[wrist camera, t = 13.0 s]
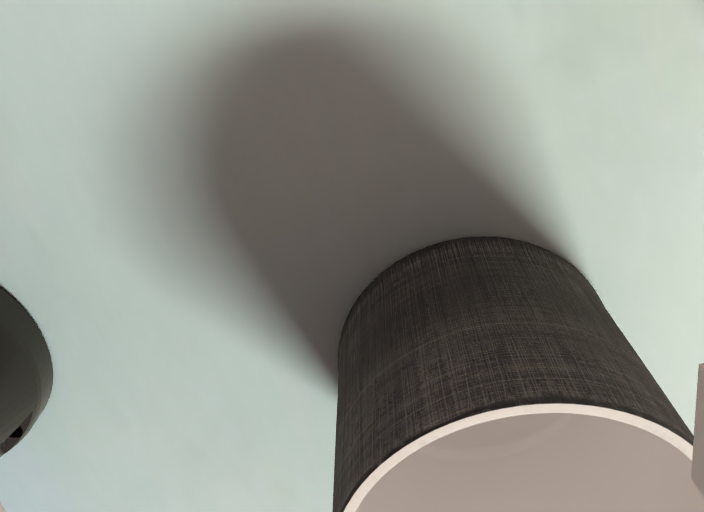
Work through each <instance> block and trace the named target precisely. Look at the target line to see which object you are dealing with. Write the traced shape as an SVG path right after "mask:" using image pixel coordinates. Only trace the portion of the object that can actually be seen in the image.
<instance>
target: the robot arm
mask: <svg viewBox="0 0 704 512" xmlns="http://www.w3.org/2000/svg"><path fill="white" fill-rule="evenodd" d="M52 384H53V367H52V361H51V356H50V353H49V350H48V347H47V344H46V342H45V340H44V338H43V336H42V334H41V332H40V330H39V329H38V327H37V325H36V324H35V322H34V321H33V320H32V318H31V317H30V316H29V314H28V313H27V312H26V311H25V310H24V309H23V308H22V307H21V306H20V305H19V303H18V302H16V301H15V300H14V299H13V298H12V297H11V296H10V295H9V294H7V293H6V292H5V291H4V290H2V289H1V288H0V457H1V456H2V455H3V454H5V453H6V452H8V451H9V450H10V449H12V448H13V447H14V446H15V445H17V444H18V443H19V442H20V441H21V440H22V439H23V438H24V437H25V436H26V434H27V433H28V432H29V431H30V429H31V428H32V426H33V425H34V423H35V422H36V420H37V419H38V417H39V415H40V414H41V412H42V411H43V409H44V408H45V406H46V404H47V402H48V399H49V397H50V394H51V390H52ZM691 479H692V480H693V482H694V483H695V485H696V486H697V488H698V489H699V491H700V492H701V494H702V495H703V497H704V363H703V364H699V369H698V384H697V398H696V412H695V427H694V441H693V456H692V470H691ZM0 512H6V511H5V510H4V508H3V506H2V504H1V503H0Z"/></svg>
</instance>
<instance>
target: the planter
mask: <svg viewBox="0 0 704 512" xmlns="http://www.w3.org/2000/svg"><path fill="white" fill-rule="evenodd" d="M338 373H339V380H338V402H337V422H336V445H335V468H334V492H333V512H704V497H703V495H702V494H701V492H700V491H699V489H698V488H697V486H696V485H695V483H694V482H693V480H692V479H691V470H692V456H693V441H694V436H693V435H692V433H691V432H690V430H689V429H688V427H687V426H686V424H685V423H684V421H683V420H682V419H681V417H680V416H679V414H678V413H677V411H676V410H675V408H674V407H673V405H672V404H671V403H670V401H669V400H668V398H667V397H666V395H665V394H664V392H663V391H662V389H661V388H660V387H659V385H658V384H657V382H656V381H655V379H654V378H653V376H652V375H651V373H650V372H649V371H648V369H647V368H646V366H645V365H644V363H643V362H642V360H641V359H640V358H639V356H638V355H637V353H636V352H635V350H634V349H633V347H632V346H631V345H630V343H629V342H628V340H627V339H626V337H625V336H624V335H623V333H622V332H621V330H620V329H619V328H618V326H617V325H616V323H615V322H614V320H613V319H612V317H611V316H610V314H609V313H608V311H607V310H606V309H605V307H604V305H603V303H602V301H601V300H600V298H599V296H598V295H597V293H596V291H595V290H594V289H593V287H592V286H591V284H590V283H589V282H588V281H587V280H586V278H585V277H584V276H583V275H582V274H581V273H580V272H579V271H578V270H577V269H576V268H574V267H573V266H572V265H571V264H569V263H568V262H567V261H565V260H564V259H562V258H561V257H559V256H557V255H555V254H554V253H552V252H550V251H548V250H545V249H543V248H541V247H538V246H535V245H533V244H530V243H526V242H522V241H518V240H513V239H507V238H498V237H471V238H462V239H456V240H451V241H446V242H442V243H439V244H435V245H432V246H429V247H426V248H424V249H422V250H419V251H417V252H415V253H413V254H411V255H409V256H407V257H405V258H403V259H401V260H400V261H398V262H396V263H395V264H393V265H392V266H391V267H389V268H388V269H386V270H385V271H384V272H383V273H381V274H380V275H379V276H378V277H377V278H376V279H375V280H374V281H373V282H372V283H371V284H370V285H369V286H368V287H367V288H366V289H365V290H364V291H363V293H362V294H361V295H360V297H359V298H358V299H357V301H356V303H355V304H354V306H353V307H352V309H351V311H350V313H349V315H348V317H347V319H346V322H345V324H344V327H343V330H342V333H341V338H340V343H339V351H338Z"/></svg>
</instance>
